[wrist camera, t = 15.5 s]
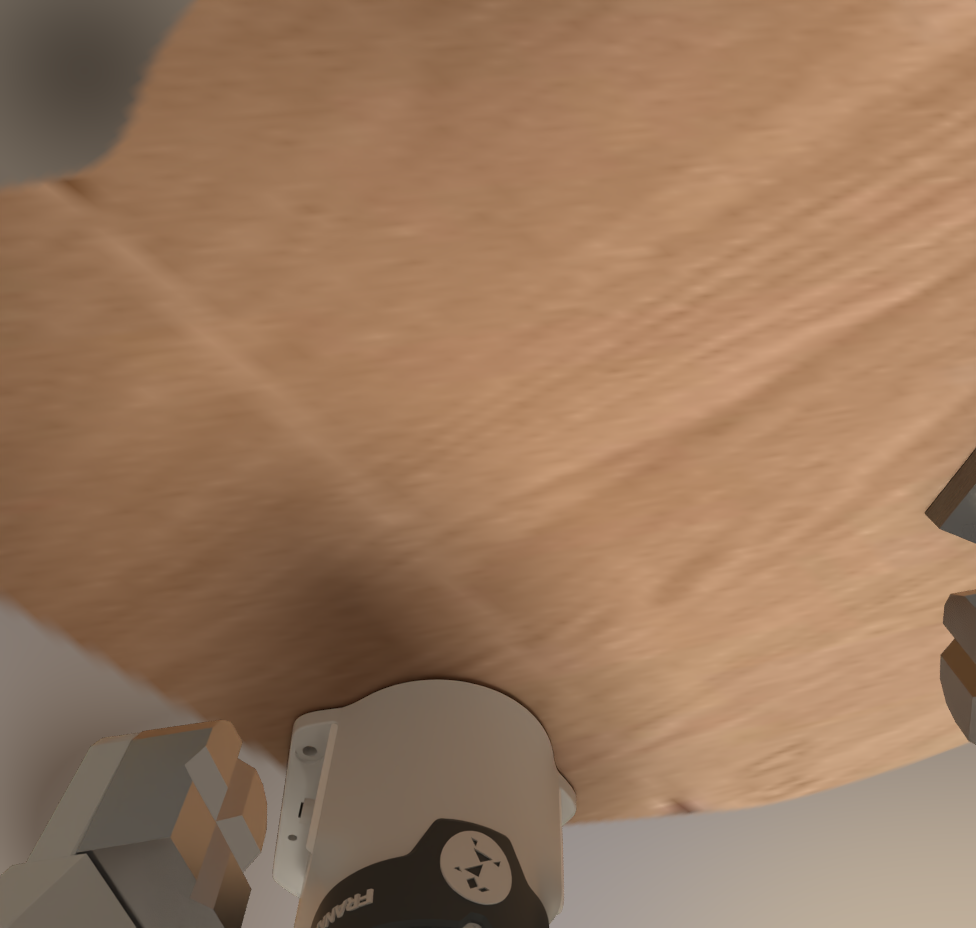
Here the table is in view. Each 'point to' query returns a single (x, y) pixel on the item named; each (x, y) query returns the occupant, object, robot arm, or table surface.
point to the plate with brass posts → (958, 503)
